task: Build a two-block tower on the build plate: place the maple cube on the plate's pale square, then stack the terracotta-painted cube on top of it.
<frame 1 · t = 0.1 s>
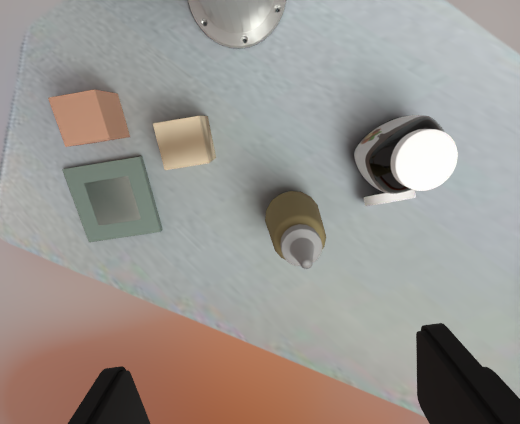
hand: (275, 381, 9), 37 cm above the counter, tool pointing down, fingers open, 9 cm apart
maple block: (192, 140, 43), on the counter
terracotta block: (104, 119, 42), on the counter
spread jar: (383, 164, 44), on the counter
build plate: (116, 199, 46), on the counter
squeeze bottle: (290, 209, 46), on the counter
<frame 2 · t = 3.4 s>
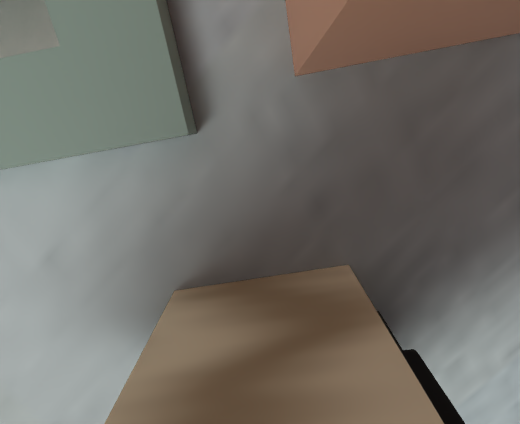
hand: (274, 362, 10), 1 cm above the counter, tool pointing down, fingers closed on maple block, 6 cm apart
maple block: (273, 348, 11), on the counter, touching gripper
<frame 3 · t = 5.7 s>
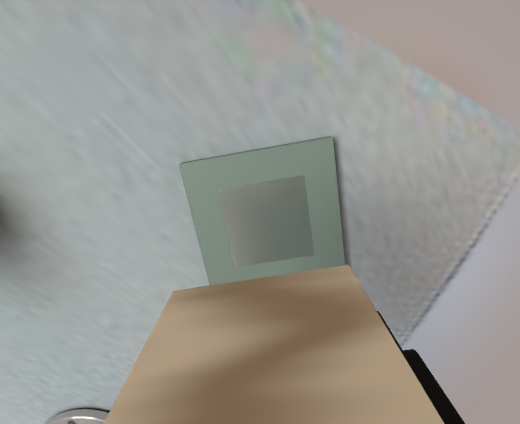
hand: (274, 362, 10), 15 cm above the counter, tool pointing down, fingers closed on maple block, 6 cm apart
maple block: (273, 349, 11), point 15 cm above the counter, touching gripper
build plate: (267, 219, 25), on the counter
when the fingers open (3 cm above the counter, at t = 8.5 s): maple block stays where it is, resting on build plate.
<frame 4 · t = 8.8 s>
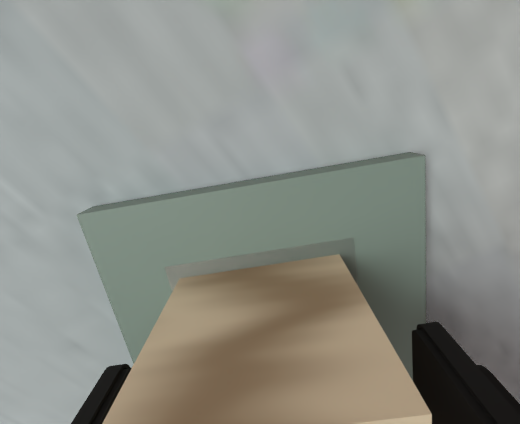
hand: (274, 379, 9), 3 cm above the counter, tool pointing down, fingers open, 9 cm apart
maple block: (271, 332, 12), point 1 cm above the counter, touching build plate
build plate: (271, 315, 12), on the counter
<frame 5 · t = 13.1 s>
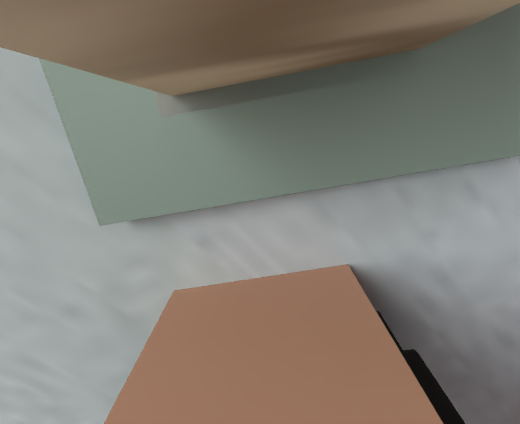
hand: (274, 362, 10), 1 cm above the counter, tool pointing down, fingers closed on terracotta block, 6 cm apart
terracotta block: (273, 348, 11), on the counter, touching gripper
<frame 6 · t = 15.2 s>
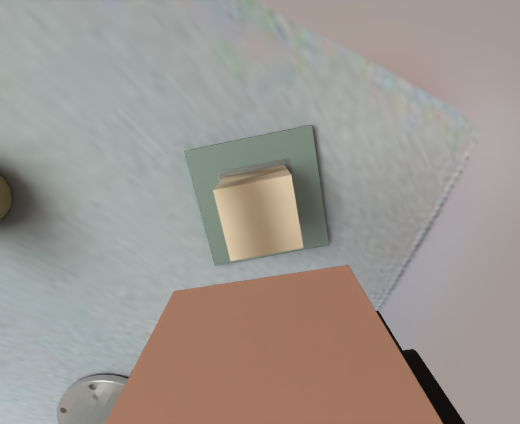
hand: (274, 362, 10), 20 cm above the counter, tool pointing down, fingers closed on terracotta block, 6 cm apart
maple block: (259, 201, 28), point 1 cm above the counter, touching build plate
terracotta block: (273, 349, 11), point 20 cm above the counter, touching gripper
build plate: (260, 198, 29), on the counter
when the fingers open (8 cm above the counter, at t = 17.8 s): terracotta block stays where it is, resting on maple block.
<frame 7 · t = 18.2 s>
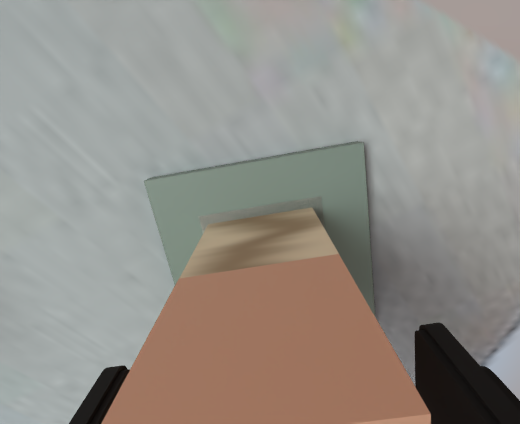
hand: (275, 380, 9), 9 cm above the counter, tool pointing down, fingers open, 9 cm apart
maple block: (268, 262, 17), point 1 cm above the counter, touching build plate, terracotta block
terracotta block: (270, 332, 12), point 7 cm above the counter, touching maple block
build plate: (269, 254, 18), on the counter
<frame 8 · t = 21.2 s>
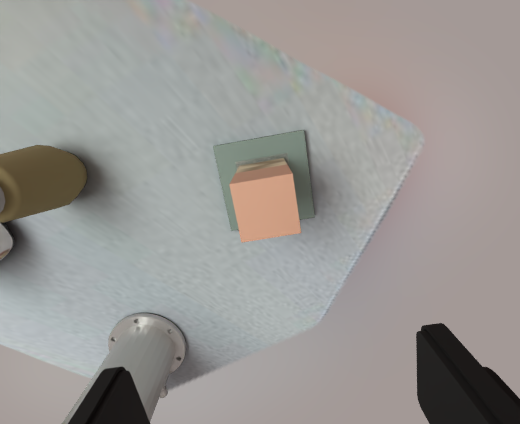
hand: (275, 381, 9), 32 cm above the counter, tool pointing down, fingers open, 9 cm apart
maple block: (265, 183, 39), point 1 cm above the counter, touching build plate, terracotta block
terracotta block: (265, 194, 33), point 7 cm above the counter, touching maple block
build plate: (265, 181, 40), on the counter
squeeze bottle: (67, 172, 40), on the counter
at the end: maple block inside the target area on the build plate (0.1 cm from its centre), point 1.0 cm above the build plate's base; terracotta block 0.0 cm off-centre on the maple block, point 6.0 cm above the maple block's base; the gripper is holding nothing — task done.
